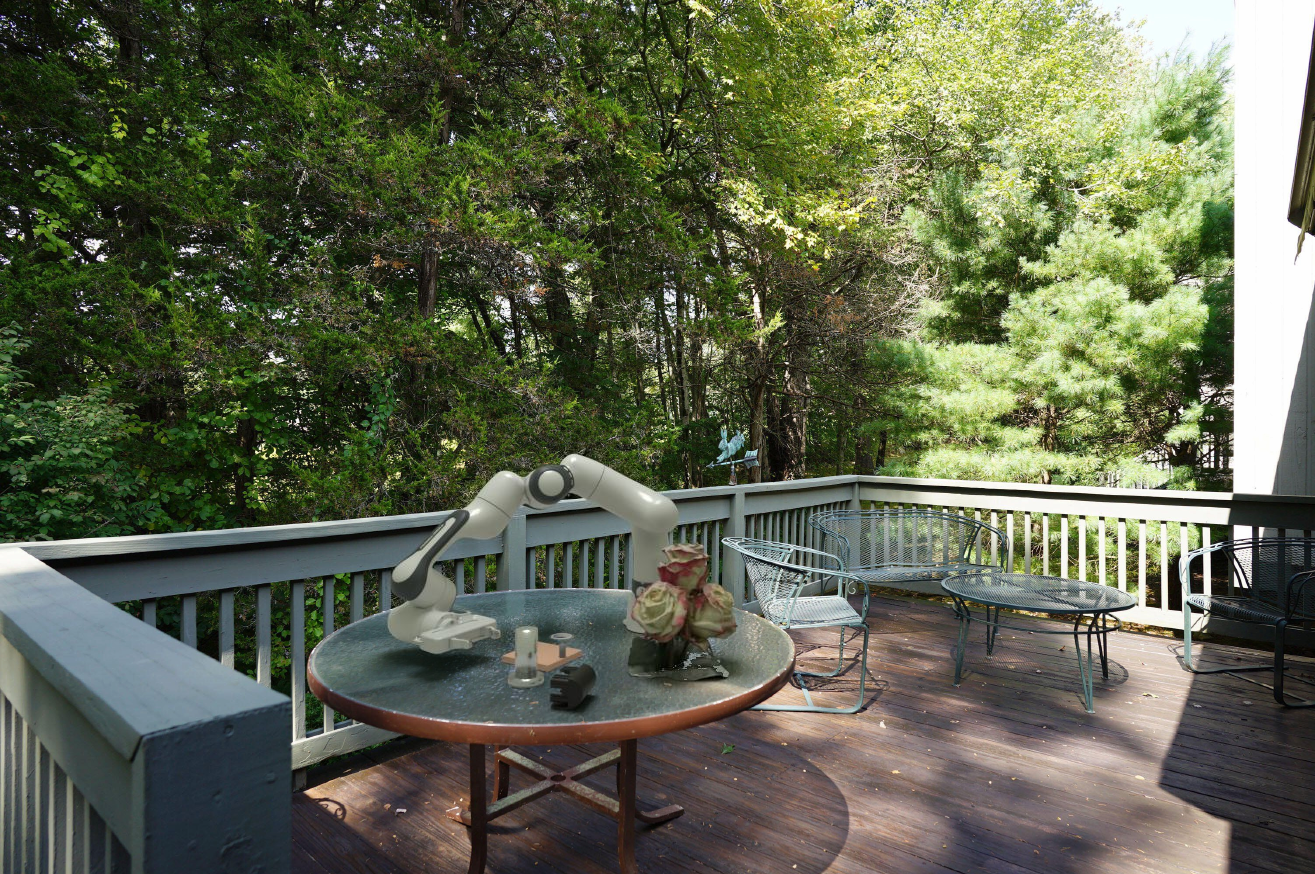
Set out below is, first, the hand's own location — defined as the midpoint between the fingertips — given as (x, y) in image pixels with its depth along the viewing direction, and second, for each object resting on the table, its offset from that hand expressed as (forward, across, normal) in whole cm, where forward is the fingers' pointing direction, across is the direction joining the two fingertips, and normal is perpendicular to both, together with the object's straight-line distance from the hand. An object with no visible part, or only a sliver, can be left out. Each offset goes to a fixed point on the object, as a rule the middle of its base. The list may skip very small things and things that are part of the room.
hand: (484, 639), depth 167 cm
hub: (+12, 0, +8) cm, 15 cm away
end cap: (+28, -4, +8) cm, 30 cm away
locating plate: (+5, +15, +8) cm, 18 cm away
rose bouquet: (+38, +30, +8) cm, 48 cm away
